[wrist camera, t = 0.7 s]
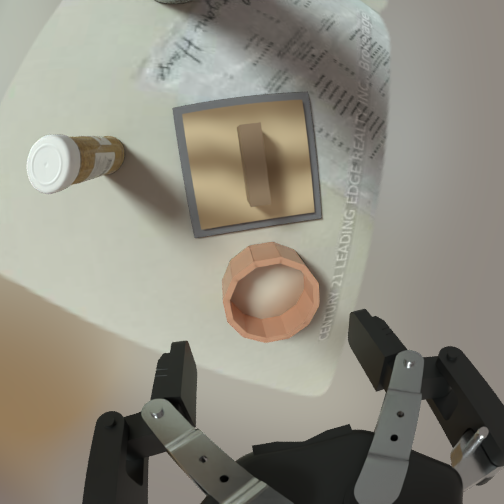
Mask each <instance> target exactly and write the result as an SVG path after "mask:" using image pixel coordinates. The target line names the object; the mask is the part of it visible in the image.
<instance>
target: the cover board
mask: <svg viewBox="0 0 504 504" xmlns="http://www.w3.org/2000/svg"><path fill="white" fill-rule="evenodd" d="M182 117H183V124H184V131H185V138H186V144H187V151H188V157H189V163H190V169H191V175H192V181H193V187H194V192H195V198H196V204H197V209H198V215H199V220H200V225H201V230H203V229H209V228H215V227H221V226H227V225H233V224H240V223H246V222H252V221H258V220H265V219H271V218H278V217H285V216H291V215H298V214H305V213H312V212H314V200H313V188H312V177H311V167H310V158H309V149H308V140H307V132H306V124H305V116H304V109H303V102H302V100H286V101H273V102H261V103H252V104H243V105H235V106H228V107H221V108H214V109H208V110H202V111H196V112H191V113H186V114H182Z"/></svg>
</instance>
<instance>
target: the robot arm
mask: <svg viewBox="0 0 504 504" xmlns="http://www.w3.org/2000/svg"><path fill="white" fill-rule="evenodd" d="M156 1H158V2H162V3H170V4H176V3H184V2H188V1H192V0H156ZM348 341H349V345H350V347H351V349H352V350H353V352H354V354H355V356H356V357H357V359H358V361H359V363H360V364H361V366H362V368H363V369H364V371H365V373H366V375H367V376H368V378H369V380H370V382H371V383H372V385H373V387H374V388H375V390H376V391H380V390H383V389H384V390H385V392H386V394H385V398H384V401H383V405H382V408H381V411H380V415H379V418H378V421H377V424H376V427H375V430H374V432H371V431H366V430H352V429H351V427H350V424H348V425H345V426H341V427H337V428H334V429H330V430H327V431H325V432H323V433H321V434H319V435H317V436H315V437H313V438H311V439H308V440H306V441H303V442H272V443H266V444H260V445H254V446H252V448H253V452H251V453H249V454H247V455H245V456H243V457H241V458H239V459H238V460H237V461H234V460H233V459H232V458H230V457H229V456H228V455H227V454H226V453H225V452H224V451H222V450H221V449H220V448H219V447H218V446H217V445H216V444H215V443H214V442H213V441H211V440H210V439H209V438H208V437H207V436H206V435H205V434H204V433H203V432H202V431H201V430H199V429H195V427H196V390H197V369H196V364H195V361H194V358H193V355H192V352H191V349H190V346H189V343H188V341H179V342H172V344H171V350H170V353H164V354H163V355H162V356H161V357H160V359H159V360H158V363H157V368H156V369H157V371H156V374H155V379H154V384H153V389H152V395H151V400H150V401H149V402H147V403H146V404H145V405H144V406H143V408H142V411H141V412H139V413H136V414H133V415H130V416H126V417H123V416H122V415H121V414H120V413H118V412H115V411H110V412H106V413H104V414H102V415H101V416H100V417H99V418H98V420H97V422H96V426H95V431H94V435H93V440H92V445H91V451H90V456H89V461H88V468H87V473H86V480H85V487H84V494H83V502H82V504H148V460H149V456H153V455H156V454H159V453H163V452H167V453H168V454H169V455H170V457H171V458H172V459H173V460H174V461H175V462H176V464H177V465H178V466H179V467H180V468H181V469H182V470H183V471H184V472H185V473H186V474H187V476H188V477H189V478H190V479H191V480H192V481H193V482H194V483H195V484H196V486H197V487H198V488H199V489H200V490H201V491H202V492H203V493H204V494H205V495H206V498H205V499H204V500H203V501H202V503H201V504H463V503H462V499H463V498H462V497H463V492H465V491H466V490H468V489H470V488H471V487H473V486H474V485H483V484H485V483H487V482H488V481H489V480H490V479H491V478H493V477H494V476H495V475H496V474H497V473H498V472H499V471H501V470H502V469H503V468H504V405H503V404H502V403H501V401H500V400H499V398H498V397H497V395H496V394H495V393H494V391H493V390H492V389H491V387H490V386H489V385H488V383H487V382H486V381H485V379H484V378H483V377H482V376H481V375H480V373H479V372H478V370H477V369H476V368H475V367H474V365H473V364H472V363H471V362H470V361H469V359H468V358H467V357H466V356H465V354H464V353H463V352H462V351H461V350H460V349H458V348H456V347H452V346H448V347H444V348H442V349H441V350H440V352H439V355H438V356H434V357H422V356H421V354H419V353H418V352H416V351H412V350H407V349H406V347H405V346H404V345H403V344H402V342H401V341H400V340H399V339H398V337H397V336H396V335H395V334H394V333H393V331H392V330H391V329H390V328H389V326H388V325H387V324H386V322H385V321H384V320H382V319H380V318H379V317H377V316H374V317H372V316H371V315H370V314H369V312H368V311H367V310H366V309H362V310H358V311H354V312H351V313H350V319H349V331H348ZM424 399H426V401H427V402H428V404H429V406H430V407H431V409H432V411H433V413H434V414H435V416H436V418H437V420H438V421H439V423H440V425H441V426H442V428H443V430H444V432H445V434H446V436H447V438H448V439H449V441H450V443H451V445H452V447H453V449H452V451H451V457H450V458H451V465H452V466H450V465H448V464H446V463H443V462H441V461H438V460H435V459H433V458H430V457H428V456H426V455H423V454H421V453H418V452H416V451H414V450H412V449H411V448H412V444H413V440H414V435H415V431H416V426H417V421H418V416H419V410H420V404H421V400H424Z"/></svg>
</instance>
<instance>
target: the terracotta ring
mask: <svg viewBox="0 0 504 504" xmlns="http://www.w3.org/2000/svg"><path fill="white" fill-rule="evenodd" d="M222 291H223V304H224V308H225V313H226V318H227V322H228V323H229V324H230V325H231V326H232V327H233V328H234V329H235V330H236V331H237V332H238V333H239V334H240V335H242V336H243V337H245V338H248V339H252V340H256V341H260V342H264V343H265V342H266V343H267V342H273V341H278V340H283V339H288V338H290V337H292V336H293V335H295V334H296V333H298V332H299V331H300V330H302V329H303V328H305V327H306V326H308V325H309V323H310V321H311V319H312V318H313V316H314V314H315V312H316V311H317V309H318V307H319V283H318V282H317V280H316V279H315V277H314V276H313V274H312V273H311V272H310V270H309V269H308V267H307V266H306V265H305V263H304V262H303V261H302V259H301V258H300V257H299V255H298V254H297V253H296V251H295V250H294V249H291V248H289V247H286V246H283V245H280V244H278V243H275V242H268V243H262V244H256V245H250V246H248V247H247V248H245V249H244V250H243V251H241V252H240V253H239V254H238V255H236V256H235V257H234V258H232V259H231V260H230V262H229V265H228V267H227V269H226V272H225V274H224V277H223V279H222Z"/></svg>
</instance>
